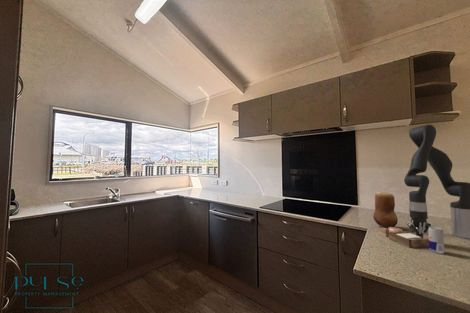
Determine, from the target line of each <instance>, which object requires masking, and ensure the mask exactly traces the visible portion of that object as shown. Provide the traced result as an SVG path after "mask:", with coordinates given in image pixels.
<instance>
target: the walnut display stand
mask: <svg viewBox="0 0 470 313" xmlns="http://www.w3.org/2000/svg"><path fill="white" fill-rule="evenodd" d="M403 233H410V231H403V232H389V236H388V239H389V240H390V241H392V242H395V243H397V244H399V245H402V246H405V247H407V248H409V249H411V248H412V249H413V248H429V238H424V237H423V239H407V238H404V237H402V236H399V235H396V234H403Z"/></svg>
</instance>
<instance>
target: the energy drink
mask: <svg viewBox="0 0 470 313" xmlns="http://www.w3.org/2000/svg"><path fill="white" fill-rule="evenodd" d="M427 233H428V234H427V235H428V239H429V247H428V248H429V251H430V252H432V253H435V254H440V255H443V254H445V238H444V229H443V227H439V226H432V225H431V226H429V228H428V231H427Z"/></svg>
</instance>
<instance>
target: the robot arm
mask: <svg viewBox="0 0 470 313" xmlns="http://www.w3.org/2000/svg"><path fill="white" fill-rule="evenodd" d="M408 135H409V138H410V140H411V141H412V142H413V144H414V145H415V146H416V147H417V148H418V149H417V150H416V151H415V152H414V153H413V155H412V158H411V162H410V165H409V166H410V167H409V170H408V171H407V173H406V175H405V176H404V181H403V182H404V184H405V185H406V186H407V187H409V188H410V187H411V188H419V189H418V190H413V191H412V190H411V191H409V193H408V197H409V199H408V200H409V202H408V203H409V204H408V207H409V209H408V210H409V217H410V218H411V219H410V222H409V223H407V224H406V225H407V227H408V228H409V229H410V230H411V231H412V233H414V234H415V235H417V236H420V237H422V239H424V234H425V233H428V228H429V226H432V224H431V223H429V222H428V221H427V220H428V218H429V217H428V214H429V213H428V204H427V191H428V187H429V185H430V179H429V177H428V176H426V175H424V174H421V173H425V172H427V169H428V164H429V165H430V167H431V168H432V170H434V173H435V174H436V175H437V177H438V179H439V181H440V183H441V185H442V187H443V189H444V191H445V192H446V193H447V194H448V195H449V196H453V197H457V198H458V197H459V199H458V200H457V201H456V200H455V201H451V202H450V204H449V207H450V208H449V210H450V219H451V221H450V222H451V235H452V236H455V237H457V238H463V239H469V240H470V182H468V181H467V182H466V181H465V182H464V181H455V180H454V178H453V177H452V175H451V173H452V170H453V161H452V160H451V159H450V157H449V155H448V154H447V153H446V152H444V151H442V150H441V149H438V148H437V147H434V146H433V145H434V142H435V139H436V136H437V129H436V128H435V126H434V125H432V124H423V125H421V126H417V127H416V126H415V127H413V128H411V129H410V130H409V132H408Z"/></svg>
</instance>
